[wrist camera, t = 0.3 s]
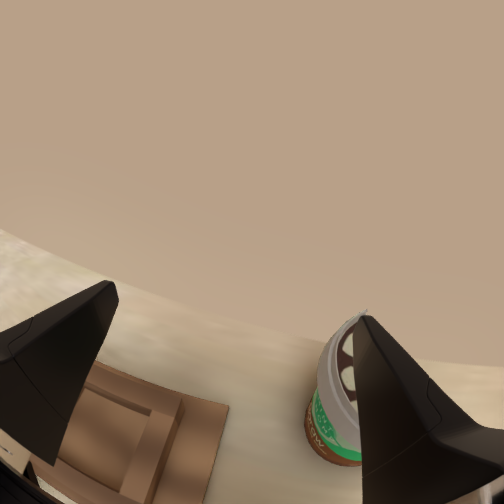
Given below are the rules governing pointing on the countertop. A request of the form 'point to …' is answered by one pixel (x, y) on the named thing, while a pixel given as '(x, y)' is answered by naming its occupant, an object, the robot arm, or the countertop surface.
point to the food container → (336, 402)
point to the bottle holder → (135, 443)
